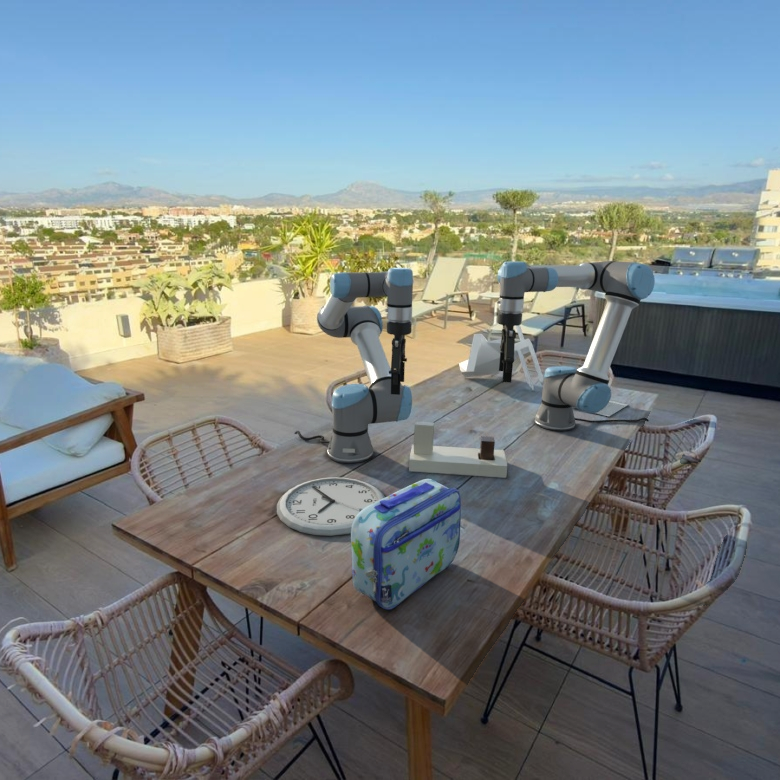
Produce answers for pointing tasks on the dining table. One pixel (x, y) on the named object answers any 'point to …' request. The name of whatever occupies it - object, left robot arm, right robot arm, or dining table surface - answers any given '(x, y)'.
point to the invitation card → (611, 408)
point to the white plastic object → (497, 357)
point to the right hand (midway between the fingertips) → (504, 376)
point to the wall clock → (326, 505)
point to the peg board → (451, 457)
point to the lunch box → (405, 541)
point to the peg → (487, 448)
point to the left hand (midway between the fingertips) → (397, 387)
